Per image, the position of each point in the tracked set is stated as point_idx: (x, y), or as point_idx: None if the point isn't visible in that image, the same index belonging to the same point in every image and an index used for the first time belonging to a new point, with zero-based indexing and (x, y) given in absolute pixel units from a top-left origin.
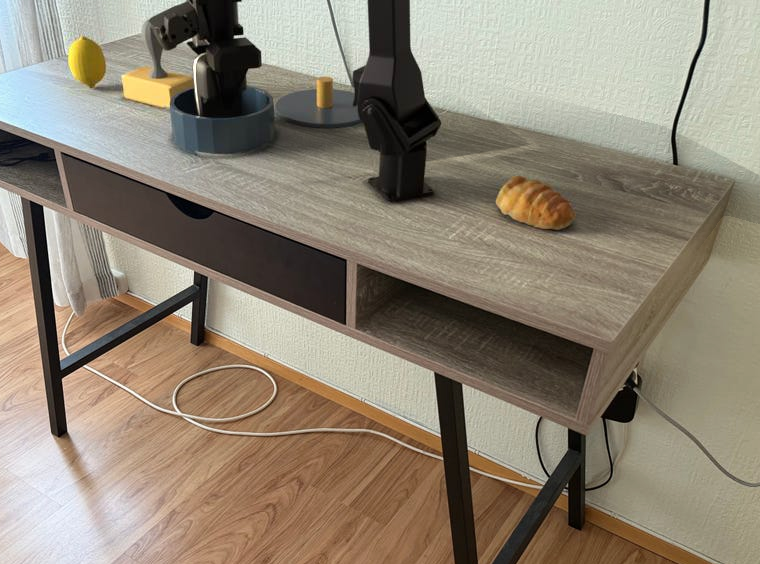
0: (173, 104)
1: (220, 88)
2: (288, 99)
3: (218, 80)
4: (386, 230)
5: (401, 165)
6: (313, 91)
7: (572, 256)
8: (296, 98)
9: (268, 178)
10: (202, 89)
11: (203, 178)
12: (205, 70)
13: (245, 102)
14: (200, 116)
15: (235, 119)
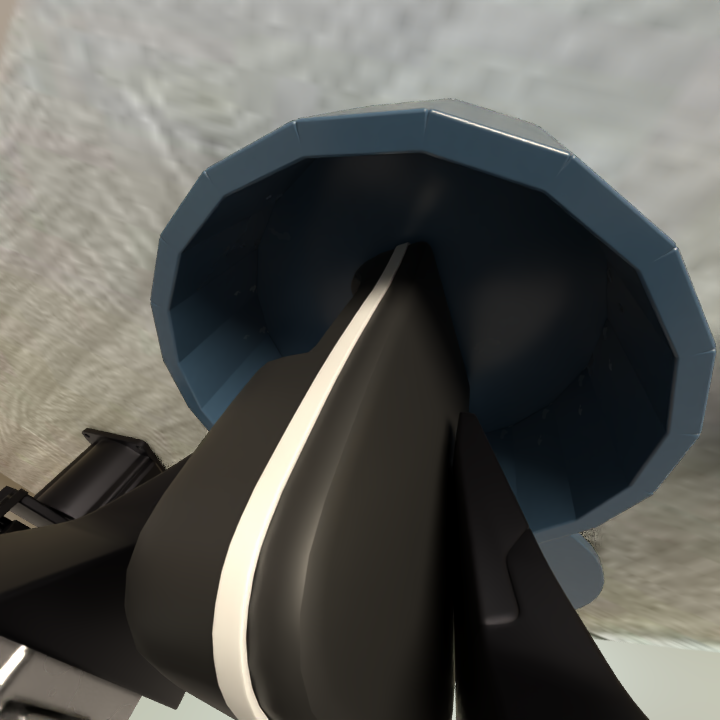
0: (402, 145)
1: (190, 454)
2: (557, 550)
3: (135, 491)
4: (10, 386)
5: (46, 485)
6: (572, 596)
7: (34, 474)
8: (550, 561)
9: (134, 320)
10: (260, 388)
11: (96, 150)
12: (148, 525)
13: (512, 476)
14: (376, 285)
15: (173, 376)
